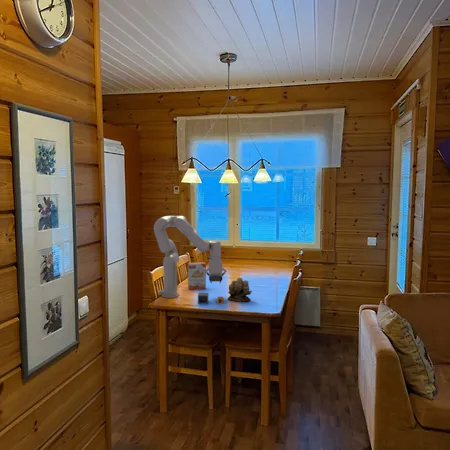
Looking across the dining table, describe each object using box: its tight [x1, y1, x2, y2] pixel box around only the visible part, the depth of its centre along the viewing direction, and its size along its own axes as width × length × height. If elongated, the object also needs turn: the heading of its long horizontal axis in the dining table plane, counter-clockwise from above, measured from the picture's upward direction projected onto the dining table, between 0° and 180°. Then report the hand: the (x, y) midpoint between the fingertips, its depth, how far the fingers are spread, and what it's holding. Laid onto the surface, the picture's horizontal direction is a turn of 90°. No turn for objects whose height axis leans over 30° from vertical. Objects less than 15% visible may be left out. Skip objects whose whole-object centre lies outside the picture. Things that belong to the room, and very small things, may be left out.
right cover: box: [210, 274, 221, 284], centre depth 304 cm, size 7×7×6 cm
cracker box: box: [187, 261, 207, 290], centre depth 330 cm, size 14×6×21 cm, turn 101°
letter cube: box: [216, 296, 224, 305], centre depth 291 cm, size 4×4×4 cm
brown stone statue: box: [227, 276, 253, 303], centre depth 298 cm, size 18×12×17 cm, turn 75°
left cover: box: [197, 292, 209, 305], centre depth 292 cm, size 7×7×6 cm
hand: (215, 281), depth 304 cm, fingers closed on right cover, 7 cm apart
